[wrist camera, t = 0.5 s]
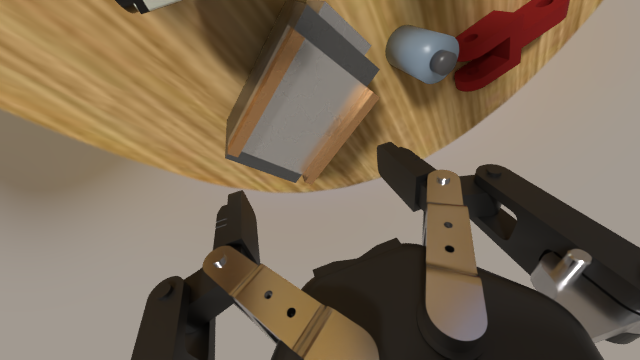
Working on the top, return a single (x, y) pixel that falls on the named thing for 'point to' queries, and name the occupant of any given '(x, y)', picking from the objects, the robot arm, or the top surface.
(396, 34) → the blue-gray bottle
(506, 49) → the mechanical linkage
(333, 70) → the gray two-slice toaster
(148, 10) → the pneumatic valve
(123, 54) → the top surface
